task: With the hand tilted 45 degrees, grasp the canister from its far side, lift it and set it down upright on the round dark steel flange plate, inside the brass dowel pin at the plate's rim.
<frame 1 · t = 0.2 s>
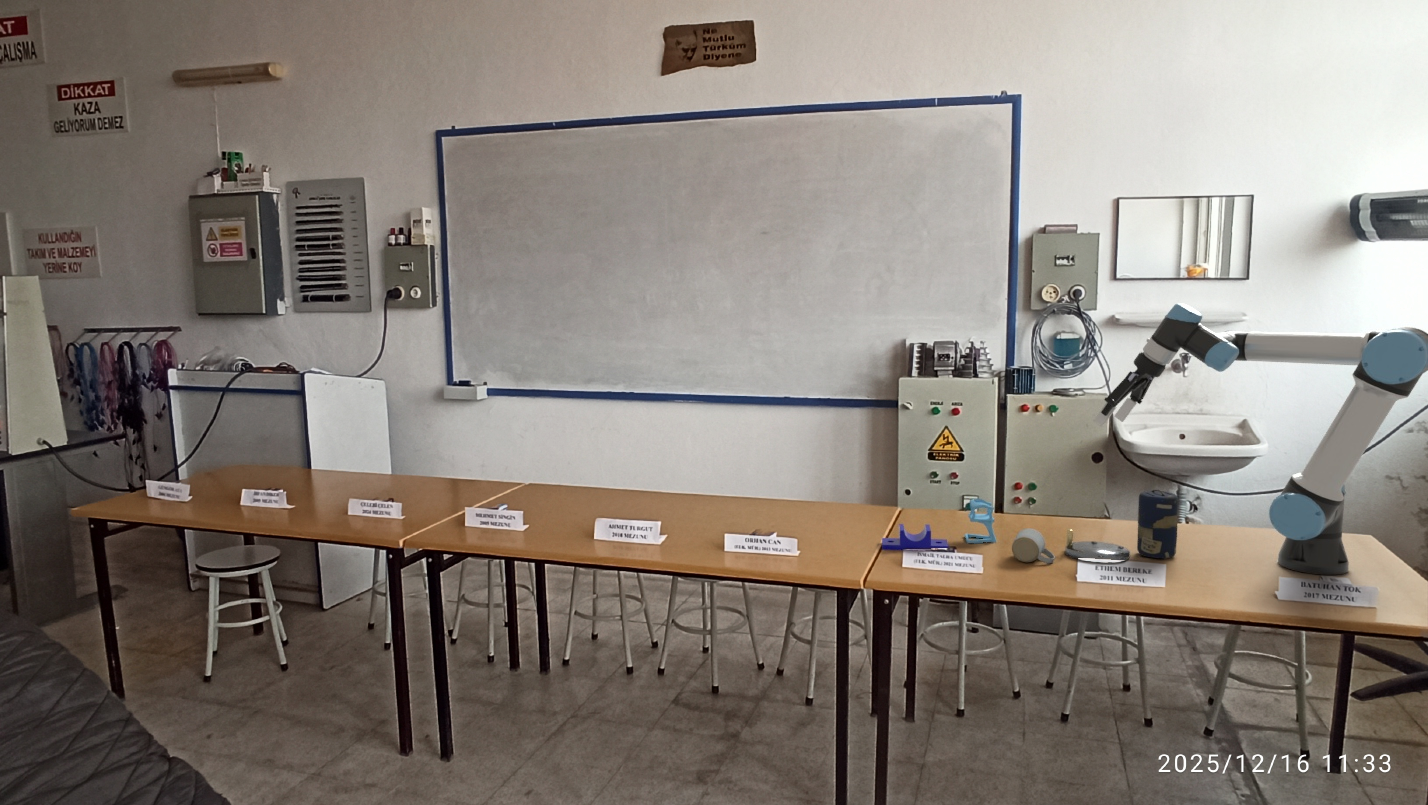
hand: (1108, 421, 260), 35 cm above the table, tool tilted 35°, fingers open, 13 cm apart
ceramic mug: (1032, 560, 252), on the table
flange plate: (1097, 554, 256), on the table
canister: (1156, 556, 254), on the table
mounting bracket: (914, 548, 267), on the table
light blue stand: (980, 541, 272), on the table
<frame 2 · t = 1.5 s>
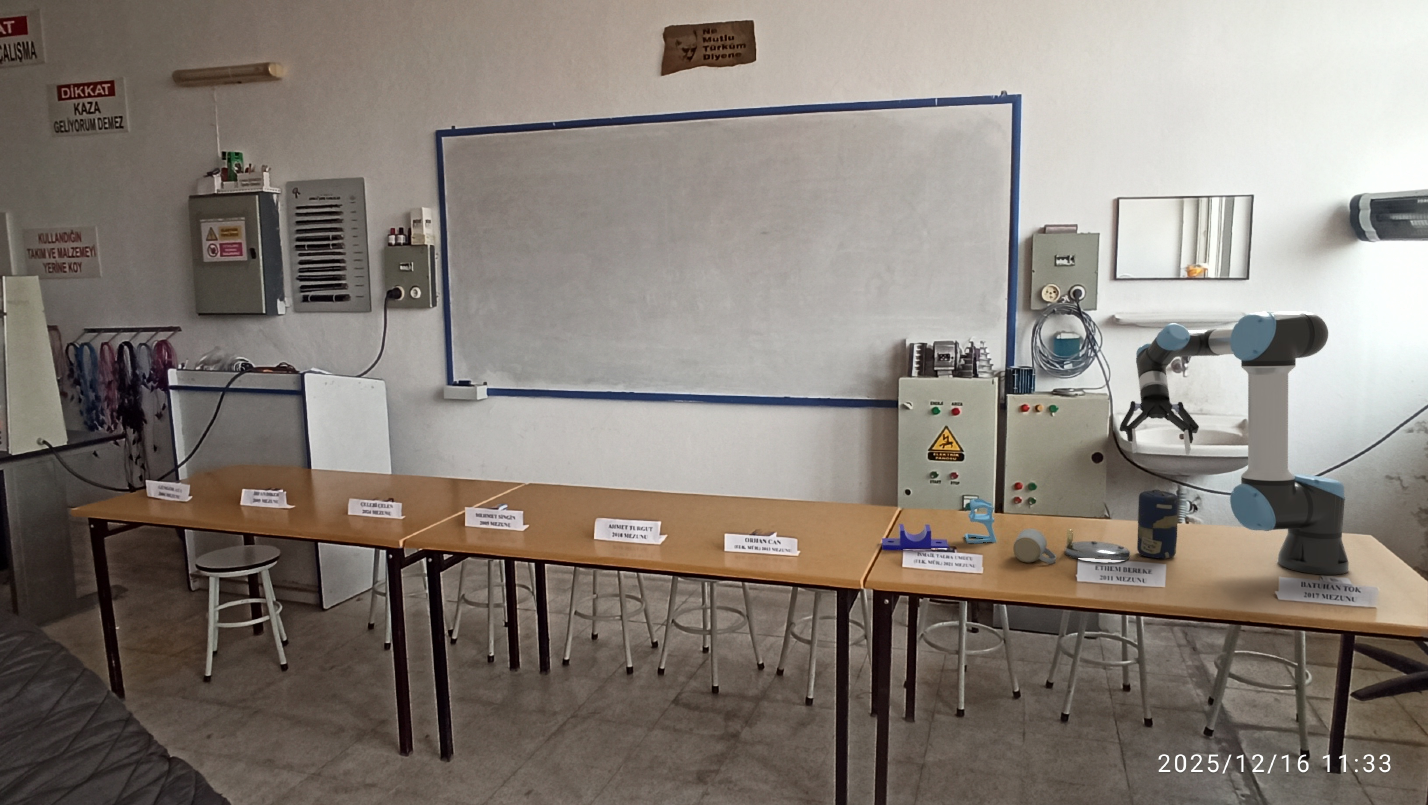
hand: (1161, 451, 263), 26 cm above the table, tool tilted 45°, fingers open, 13 cm apart
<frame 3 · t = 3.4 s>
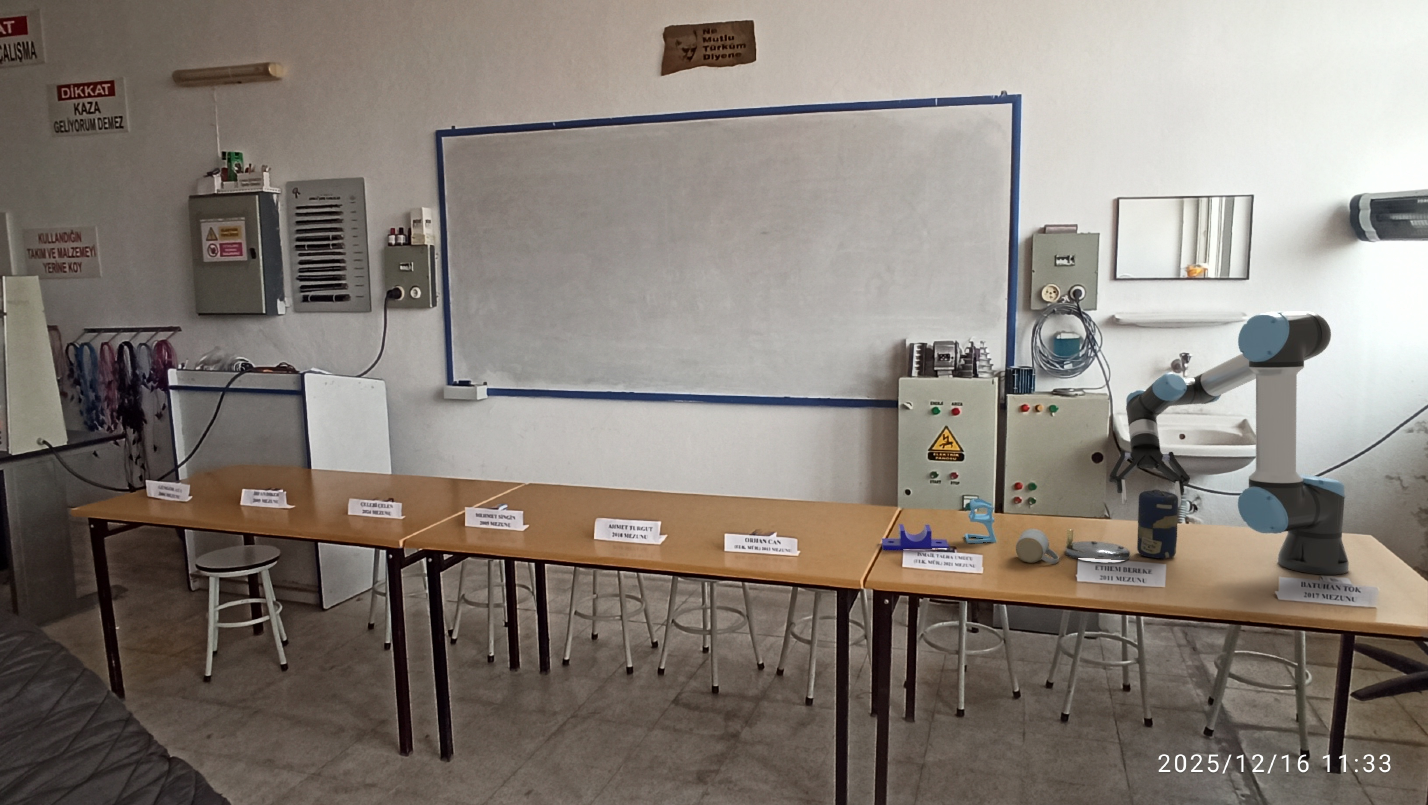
hand: (1151, 503, 257), 13 cm above the table, tool tilted 45°, fingers open, 13 cm apart
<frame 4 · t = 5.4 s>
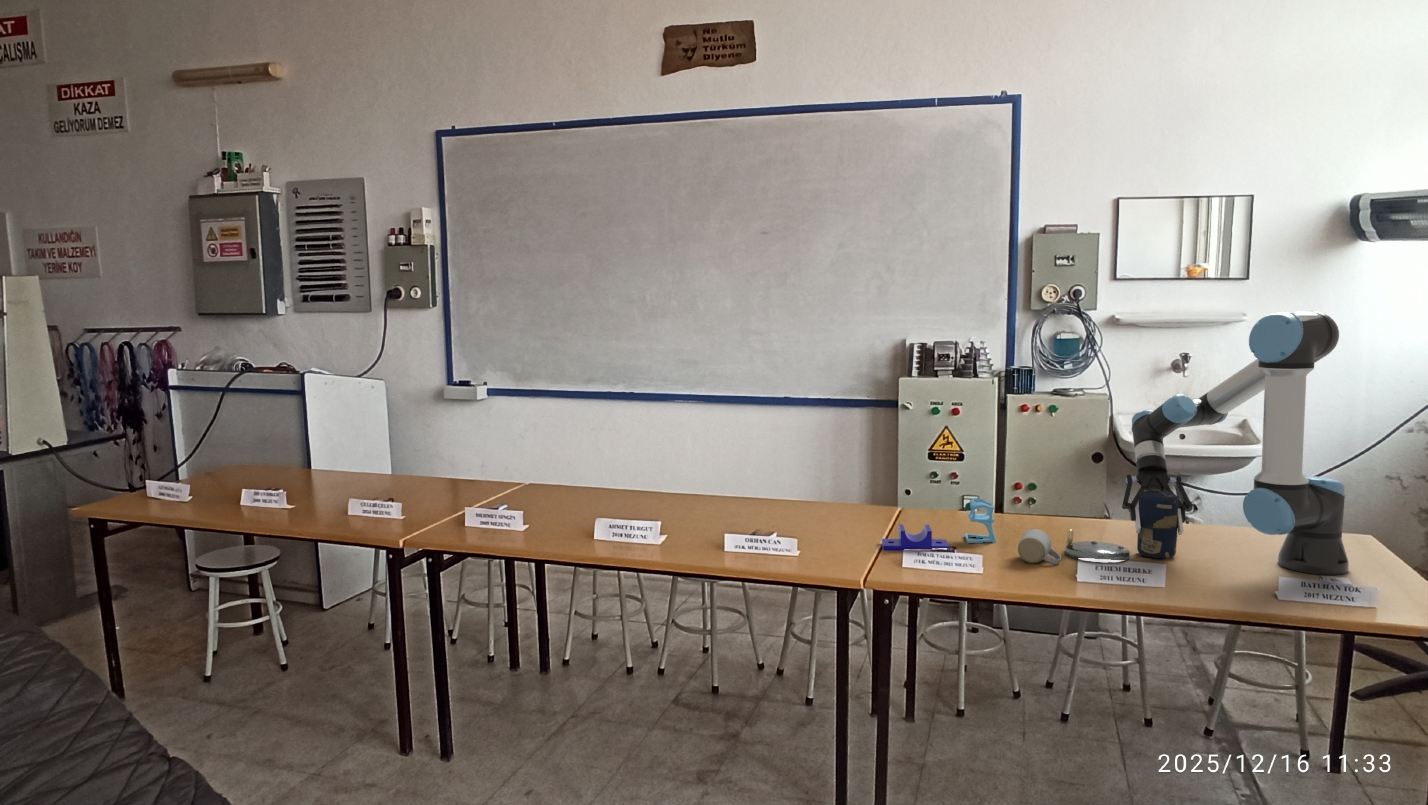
hand: (1159, 531, 250), 7 cm above the table, tool tilted 45°, fingers closed on canister, 9 cm apart
canister: (1156, 556, 254), on the table, touching gripper
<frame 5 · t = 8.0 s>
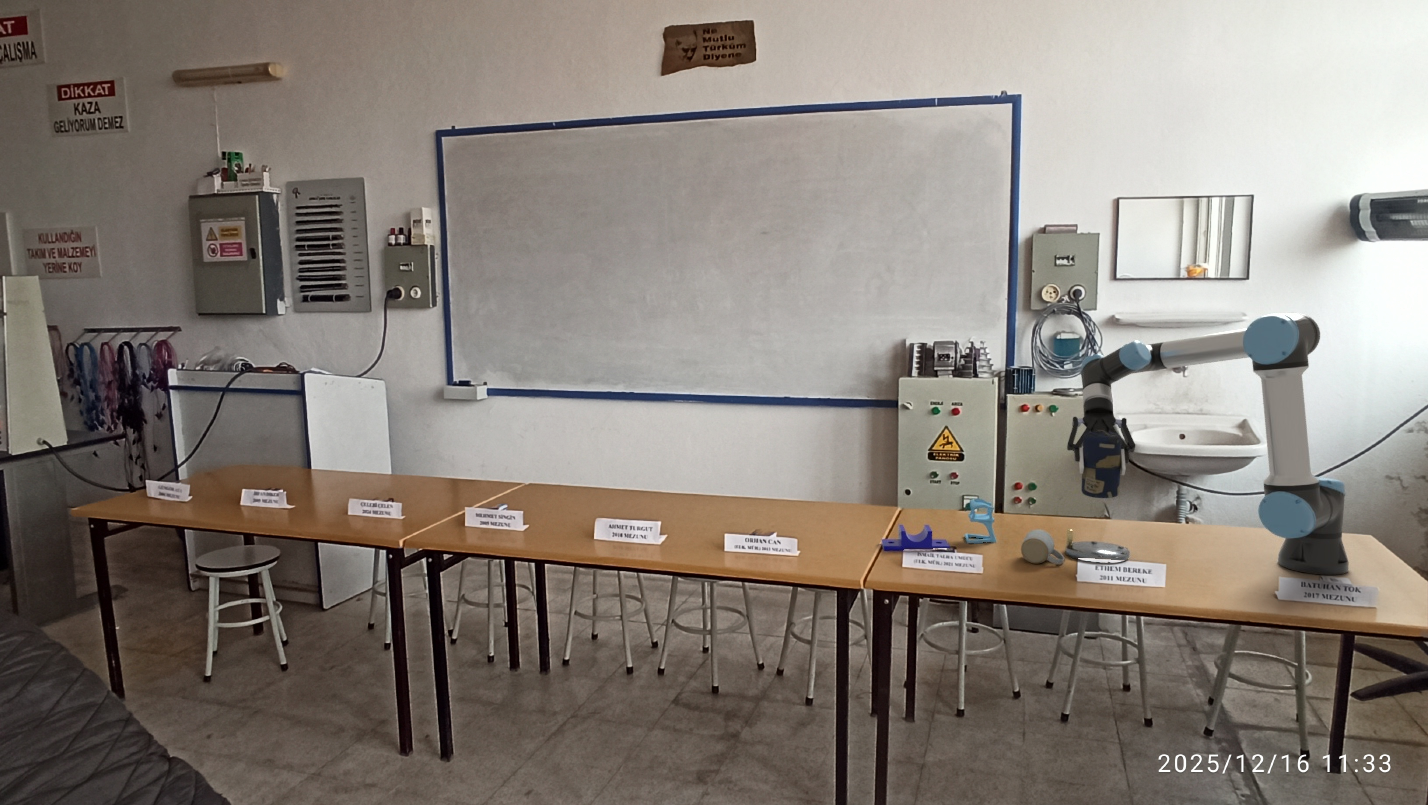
hand: (1102, 471, 250), 23 cm above the table, tool tilted 45°, fingers closed on canister, 9 cm apart
canister: (1100, 497, 254), point 16 cm above the table, touching gripper
when the fingers open (10 cm above the table, at t = 11.1 s): canister stays where it is, resting on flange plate.
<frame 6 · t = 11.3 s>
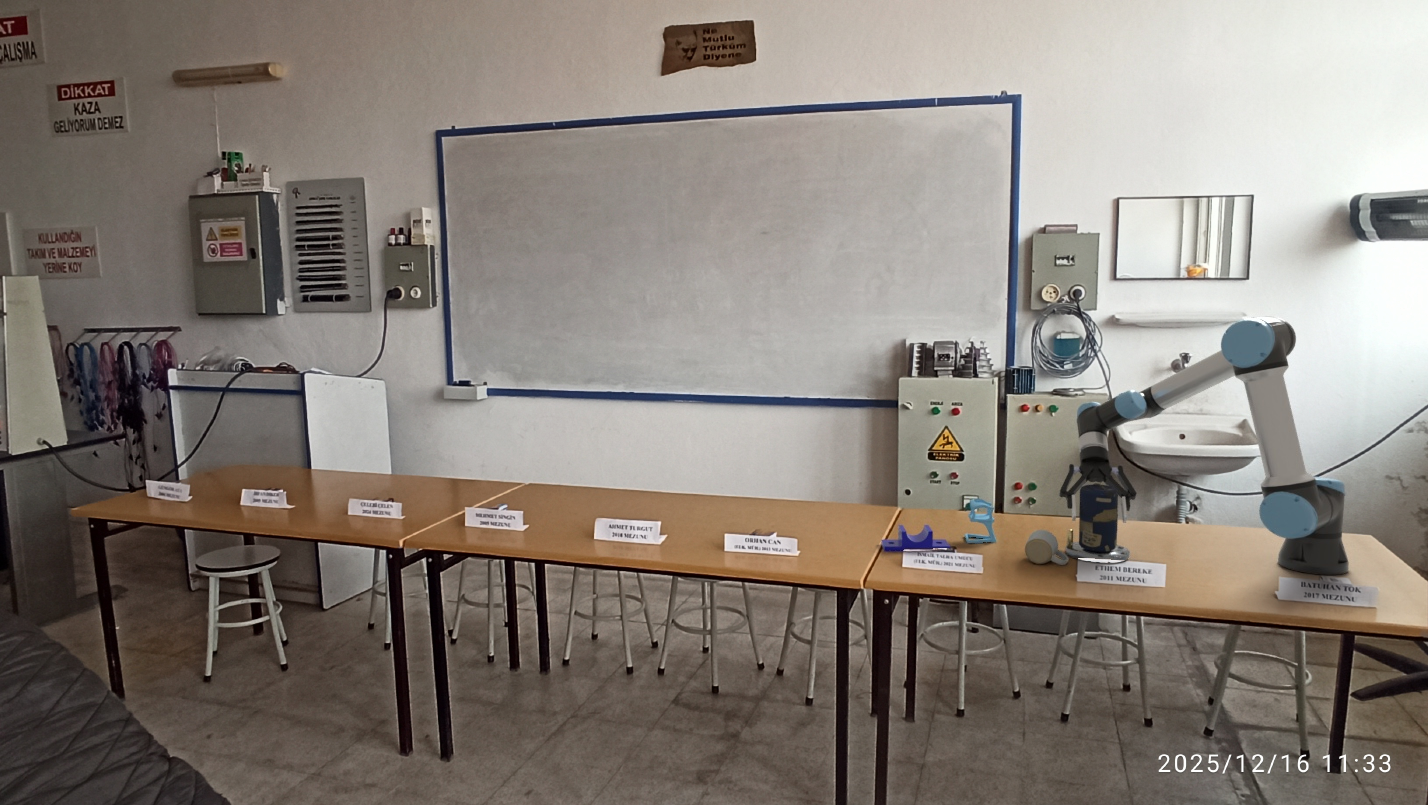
hand: (1099, 519, 252), 10 cm above the table, tool tilted 45°, fingers open, 12 cm apart
canister: (1097, 549, 255), point 1 cm above the table, touching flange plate
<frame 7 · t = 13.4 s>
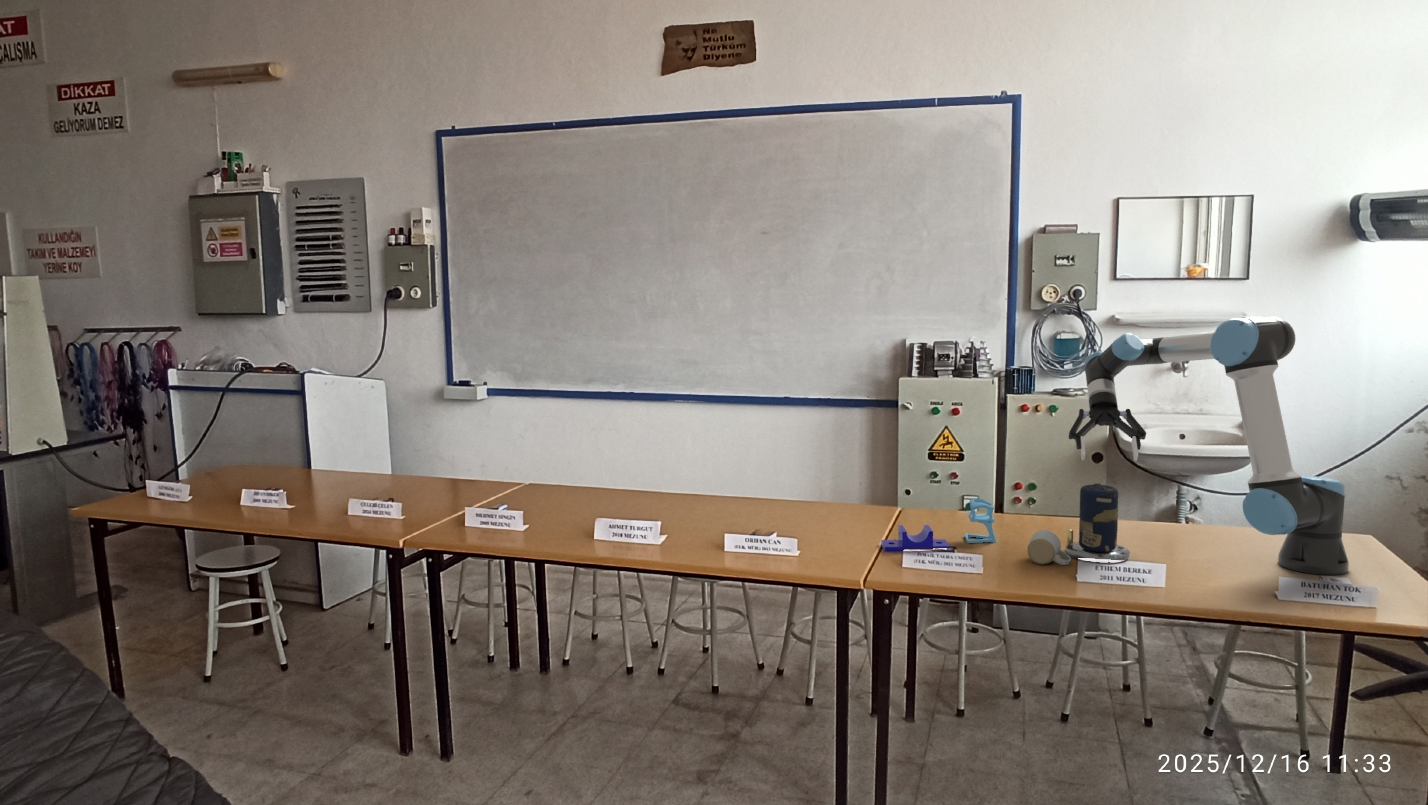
hand: (1109, 457, 263), 24 cm above the table, tool tilted 45°, fingers open, 13 cm apart
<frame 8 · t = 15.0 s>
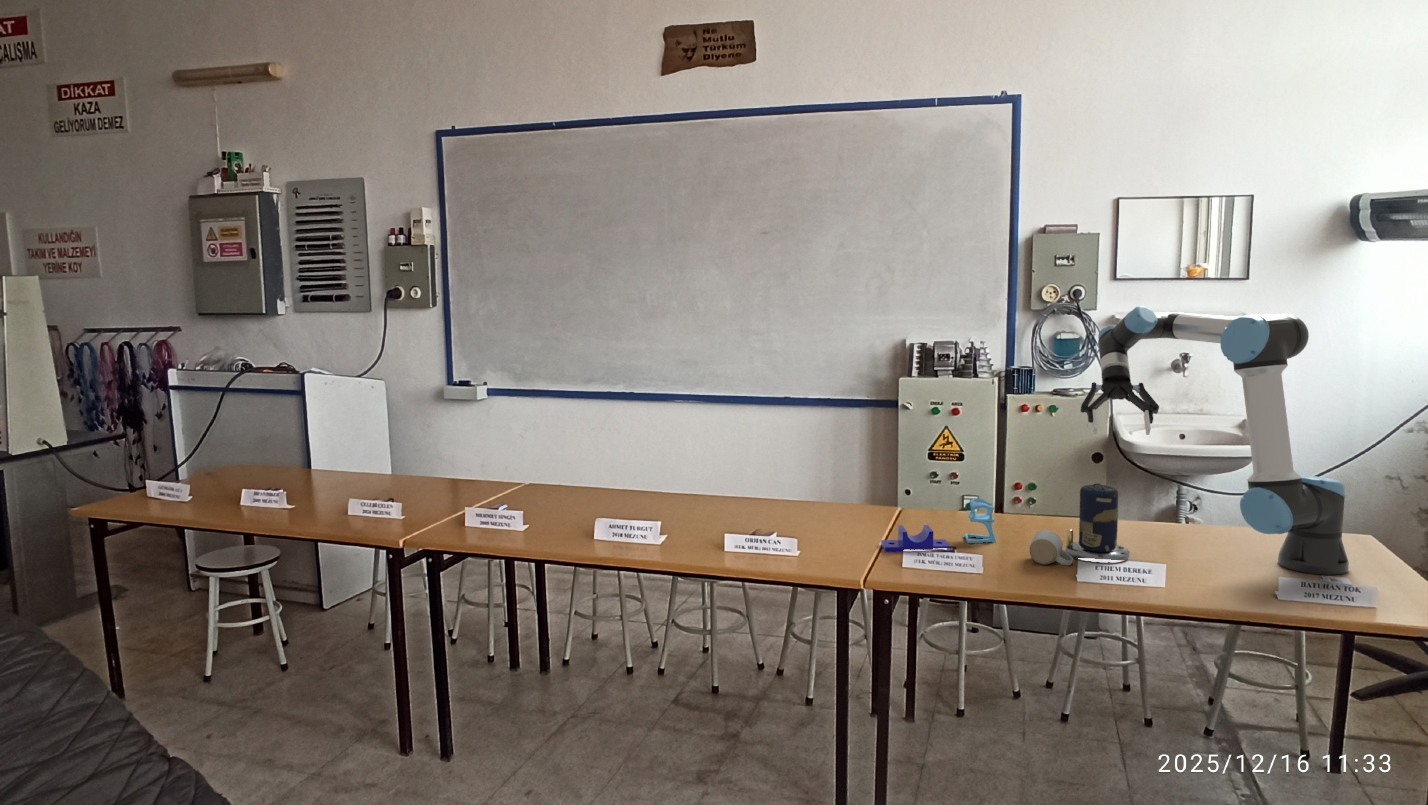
hand: (1121, 431, 262), 32 cm above the table, tool tilted 45°, fingers open, 13 cm apart
at the end: canister 0.1 cm from the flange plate (horizontally); canister tilted 0°; canister touching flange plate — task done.
